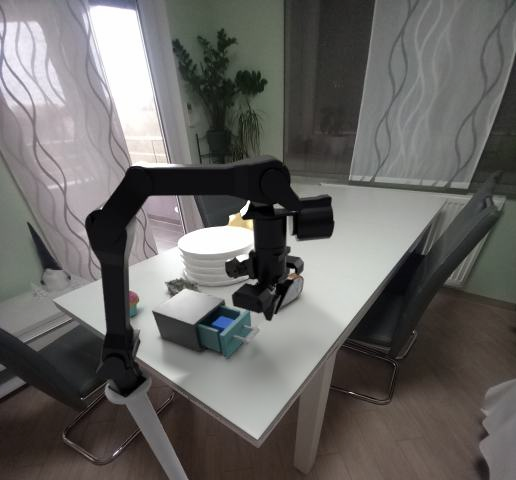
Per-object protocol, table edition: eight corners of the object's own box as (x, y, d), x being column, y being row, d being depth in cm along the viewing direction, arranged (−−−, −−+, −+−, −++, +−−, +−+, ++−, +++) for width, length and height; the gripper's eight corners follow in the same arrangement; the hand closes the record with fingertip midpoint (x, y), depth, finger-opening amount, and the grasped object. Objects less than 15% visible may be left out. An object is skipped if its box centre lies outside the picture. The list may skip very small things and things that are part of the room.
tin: (297, 292, 89) (298, 267, 83) (304, 295, 87) (306, 270, 82) (264, 311, 81) (263, 285, 76) (272, 315, 79) (272, 289, 74)
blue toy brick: (228, 343, 67) (226, 329, 64) (214, 338, 69) (211, 324, 66) (237, 334, 70) (235, 320, 67) (223, 329, 72) (221, 315, 69)
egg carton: (201, 294, 91) (199, 283, 88) (181, 302, 87) (178, 291, 85) (185, 283, 97) (182, 273, 94) (165, 291, 93) (162, 280, 91)
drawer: (266, 336, 70) (265, 314, 66) (242, 364, 63) (239, 341, 59) (214, 320, 77) (210, 299, 73) (187, 343, 70) (181, 321, 65)
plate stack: (218, 294, 90) (212, 261, 83) (170, 271, 105) (162, 242, 98) (272, 265, 105) (272, 235, 98) (224, 249, 120) (220, 222, 113)
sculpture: (255, 233, 135) (254, 209, 128) (250, 241, 126) (248, 217, 119) (233, 232, 137) (230, 209, 130) (226, 241, 128) (223, 217, 121)
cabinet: (228, 325, 76) (224, 299, 71) (200, 352, 68) (193, 324, 63) (191, 313, 82) (185, 288, 76) (161, 337, 74) (151, 310, 68)
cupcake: (125, 324, 79) (109, 287, 72) (108, 316, 83) (90, 280, 75) (149, 310, 85) (136, 274, 77) (131, 303, 88) (117, 268, 81)
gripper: (257, 222, 57) (260, 289, 67) (200, 255, 45) (214, 330, 55) (307, 229, 52) (302, 299, 62) (258, 267, 40) (263, 347, 50)
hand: (271, 317), depth 58 cm, fingers closed
